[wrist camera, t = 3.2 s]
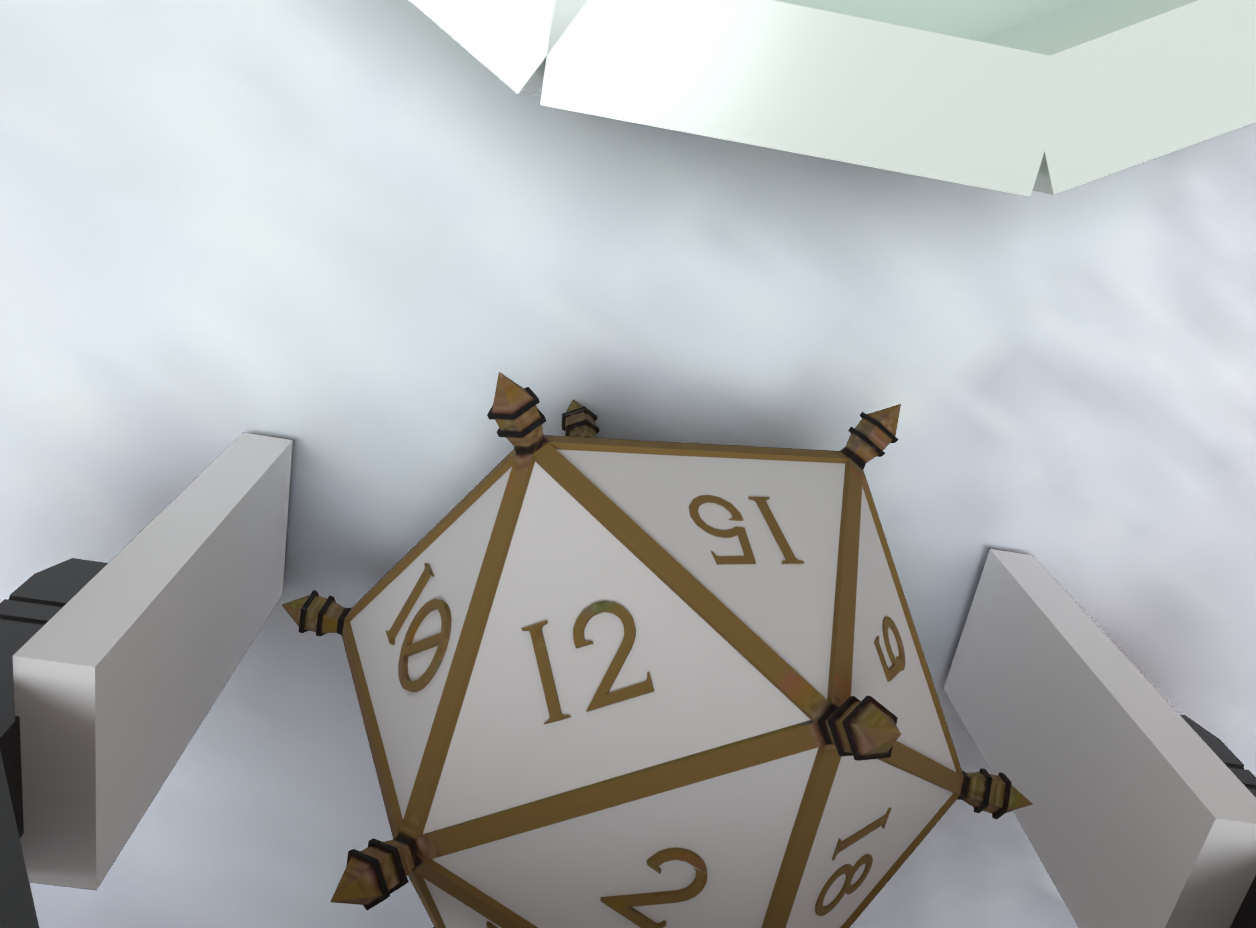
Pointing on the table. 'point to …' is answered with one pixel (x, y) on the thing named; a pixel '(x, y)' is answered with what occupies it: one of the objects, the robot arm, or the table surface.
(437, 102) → the table surface
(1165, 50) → the bowl
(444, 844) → the game die
